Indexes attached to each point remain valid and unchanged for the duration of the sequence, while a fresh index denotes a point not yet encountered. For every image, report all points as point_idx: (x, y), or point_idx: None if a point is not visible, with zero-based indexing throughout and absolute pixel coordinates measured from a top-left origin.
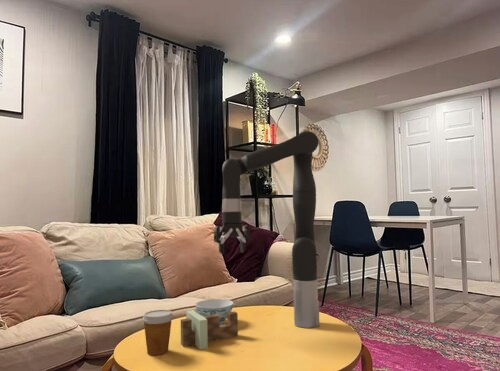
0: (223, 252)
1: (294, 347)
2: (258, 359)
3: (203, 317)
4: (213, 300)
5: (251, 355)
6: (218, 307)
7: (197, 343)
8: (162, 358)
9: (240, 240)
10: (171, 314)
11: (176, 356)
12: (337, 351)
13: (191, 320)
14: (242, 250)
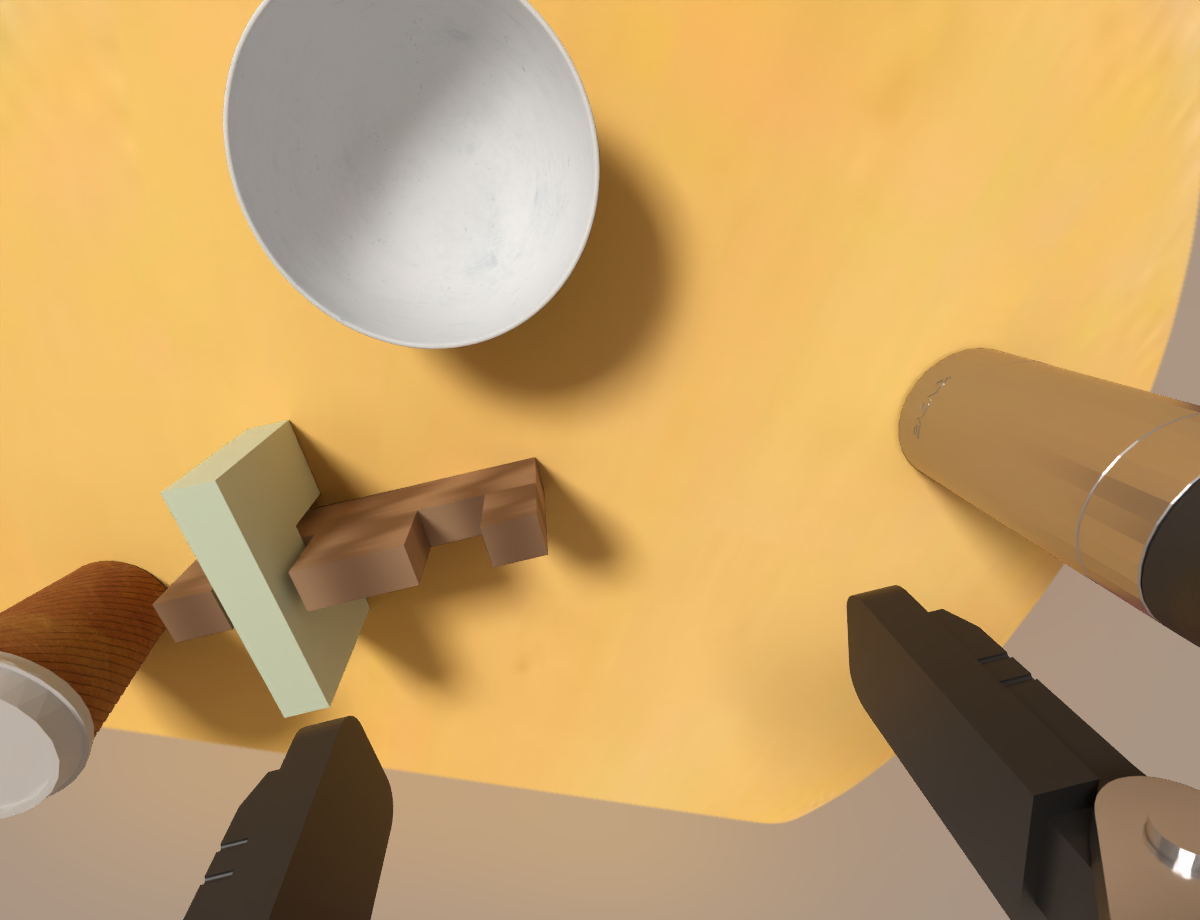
0: (371, 837)
1: (733, 676)
2: (559, 745)
3: (305, 667)
4: None
5: (544, 711)
6: (483, 28)
7: None
8: (162, 671)
9: (1114, 910)
10: (68, 759)
11: (226, 663)
12: (851, 736)
13: (232, 627)
14: (875, 717)
